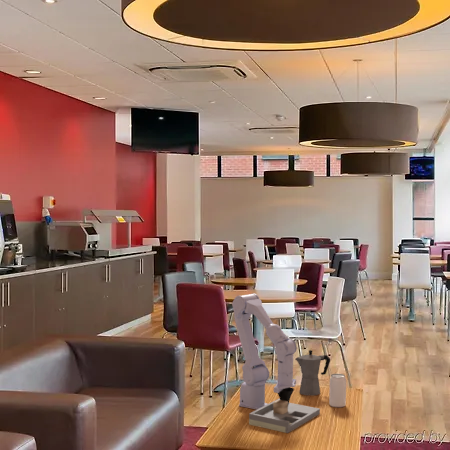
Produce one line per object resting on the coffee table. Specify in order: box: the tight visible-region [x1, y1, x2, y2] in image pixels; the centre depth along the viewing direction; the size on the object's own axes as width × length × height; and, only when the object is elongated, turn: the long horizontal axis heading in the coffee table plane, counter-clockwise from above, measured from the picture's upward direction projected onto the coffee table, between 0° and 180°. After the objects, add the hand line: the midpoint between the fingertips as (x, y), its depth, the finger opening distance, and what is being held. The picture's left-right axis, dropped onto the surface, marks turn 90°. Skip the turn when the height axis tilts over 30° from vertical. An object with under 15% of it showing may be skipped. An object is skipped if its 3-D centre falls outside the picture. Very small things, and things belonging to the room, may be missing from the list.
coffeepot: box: [295, 349, 331, 397], centre depth 310 cm, size 15×9×18 cm, turn 103°
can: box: [328, 373, 347, 408], centre depth 294 cm, size 6×6×12 cm
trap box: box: [248, 397, 321, 434], centre depth 276 cm, size 16×26×4 cm, turn 147°
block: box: [272, 398, 288, 414], centre depth 278 cm, size 4×4×4 cm
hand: (284, 407), depth 281 cm, fingers closed
